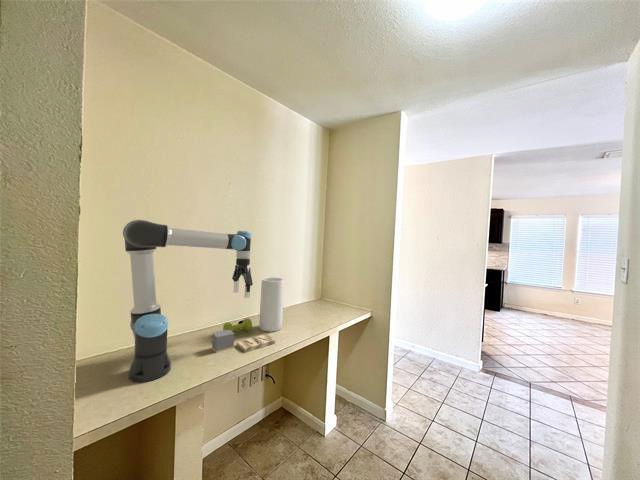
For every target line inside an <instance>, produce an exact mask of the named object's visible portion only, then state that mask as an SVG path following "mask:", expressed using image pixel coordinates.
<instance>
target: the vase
mask: <svg viewBox="0 0 640 480" xmlns="http://www.w3.org/2000/svg"><path fill="white" fill-rule="evenodd" d="M284 280H285V279H284V278H282V277H275V276H274V277H273V276H272V277H271V276H269V277H262V278H261V285H260V287H261V289H260V303H259V305H260V307H259V319H258V321H259V322H258V323H259V329H260V330H261V331H262V332H270V333H272V332H277V331H280V330H281V329H282V327H283V326H282V325H283V314H284V313H283V312H284V311H283V308H284V286H285V285H284V282H285V281H284Z"/></svg>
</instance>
